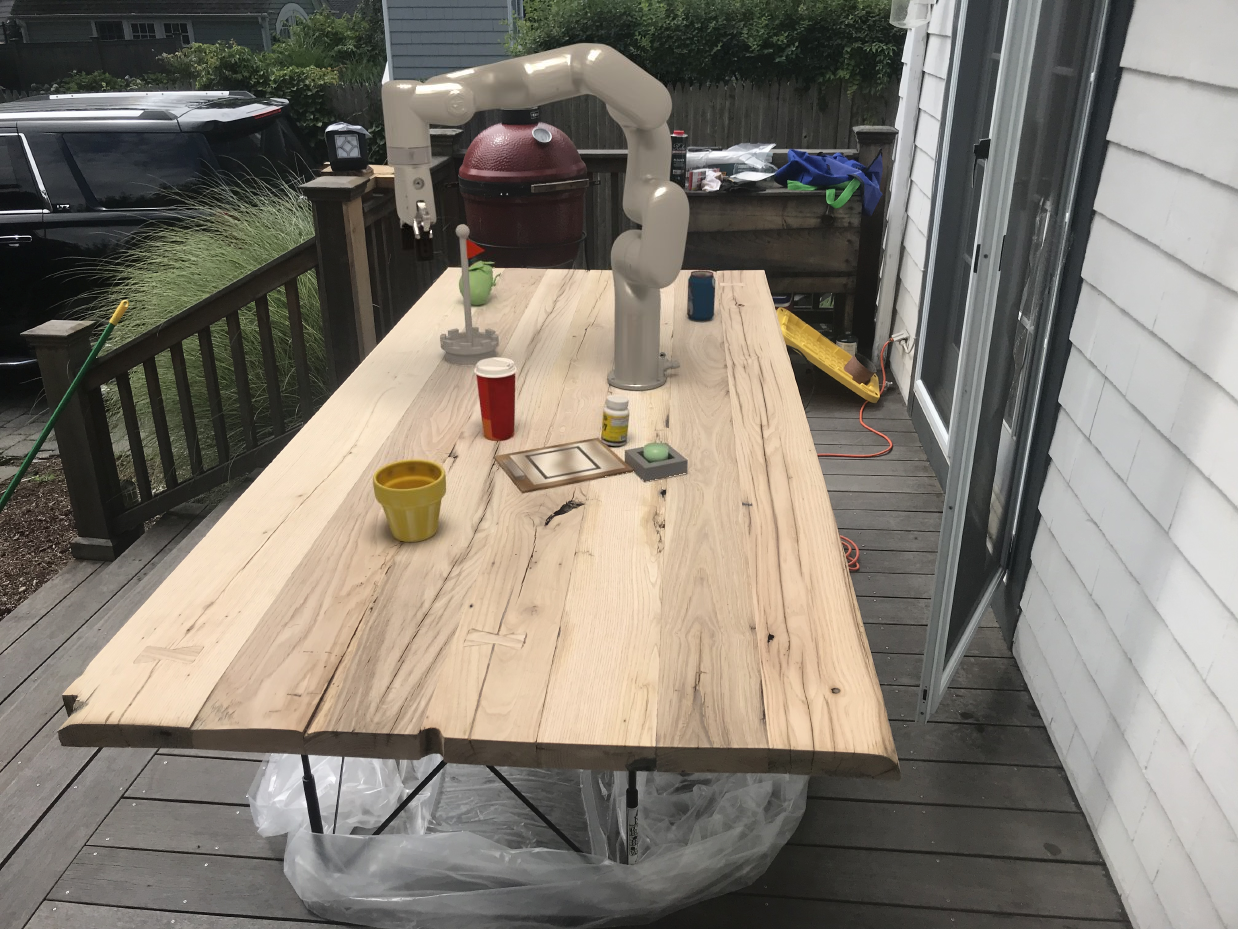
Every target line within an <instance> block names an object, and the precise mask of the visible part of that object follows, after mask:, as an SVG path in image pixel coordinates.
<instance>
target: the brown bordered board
mask: <svg viewBox="0 0 1238 929" xmlns="http://www.w3.org/2000/svg"><path fill="white" fill-rule="evenodd" d="M493 459H494V460H495V462H496V463H497V464H498V465H499V466H500V468H501V469H502V470H503V471H504V472H505V474H506V475H507V477H508V478H509V479H510V480H511V481H512V482H513V484H514V485H515V486H516V487H517V488H518V490H519V491H520V493H522V494H526V493H532V492H536V491H542V490H547V489H552V488H556V487H562V486H566V485H567V486H568V485H572V484H578V483H582V482H587V481H588V482H589V481H592V480H597V479H598V478H599V479H602V477H604V478H606V477H605V476H609V477H611V476H610V475H614V476H617V474H619V475H623V474H622V473H624V474H627V473H626V472H629V473H633V472H632V471H633V469H632V468H631V467H630V466H629V465H628V464H627V463H626V462H625V460H624V459H622V458H621V457H620V456H619V455H618V454H617V453H616V452H615V451H614V450H612V448H610V447H609V445H607V444H605V443H603V442H602V441H601V438H600V437H593V438H589V439H583V440H576V441H571V442H566V443H565V442H564V443H559V444H555V445H549V446H544V447H537V448H532V449H531V448H530V449H526V450H520V451H515V452H510V453H509V452H508V453H503V454H497V455H494V456H493Z"/></svg>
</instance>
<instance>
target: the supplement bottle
mask: <svg viewBox="0 0 1238 929" xmlns="http://www.w3.org/2000/svg"><path fill="white" fill-rule="evenodd" d="M629 401H630V400H629V398H628V397H627V396H624V395H621V394H611V395H607V396H606V400H605V406H604V408H603V413H602V422H601V433H600V434H601V435H600V440H601V441H602V442H603V443H605V444H606V445H607V446H612V447H619V446H624V445H626V443H627V440H628V431H629V421H630V409H629Z"/></svg>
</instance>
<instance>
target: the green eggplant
mask: <svg viewBox="0 0 1238 929" xmlns="http://www.w3.org/2000/svg"><path fill="white" fill-rule="evenodd" d="M491 264H495V261H494V262H492V261H482V260H479V261H476V262H475V263H473V264H472V265H470V266H468V268H469V284H470V300H471V305H472V306H473V305H474V306H481V305H483V304H485V303H487V301H488V299H489V297H490V294H491V292H492V289H493V287H496V286H497V284H498V283H496V280H497V278H499V277H501V275H502V273H501V272H500V273H498V274H496V275H495V277H494V274H493V271H494V270H493V269H495V268H496V267H495V266H494V267H492V266H491ZM458 287H459V289H458V290H459V292H460V295H461V297H462V298H463V283H462V275H461V276H460V278H459V281H458Z"/></svg>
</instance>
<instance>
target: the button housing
mask: <svg viewBox="0 0 1238 929" xmlns="http://www.w3.org/2000/svg"><path fill="white" fill-rule="evenodd" d="M662 443H663V444H665V445H667V446H668V460H664V461H658V462H653V463H648V462H647V461H646V460H645V459H644V446H641V447H635V448H629V449H628V448H627V449H624V462H626V463H627V464H628V465H629V466H630V467H631V468H632V469H633V471H634V472H635V473H636V474H637V475H638V476H639V477H638V476H637V475H636V474H635V473H634V472H633V473H634V474H635V475H636V476H637V477H638V478H640V480H642V479H643V480H644V481H649V482H651V481H650V480H654V481H656V480H655V479H659V480H663V479H662V478H664V479H667V478H666V477H669V476H674V475H679V474H683V473H687V474H688V466H689V465H688V460H689V459H687V458H686V457H685V456H683V455H682V454H681V453H680V452H679V451H677V450H676V449H675V448H673V446H671V445H669V443H667V442H662ZM679 476H680V475H679ZM674 477H675V476H674ZM669 478H670V477H669ZM643 480H642V481H643ZM644 481H643V482H644Z"/></svg>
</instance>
